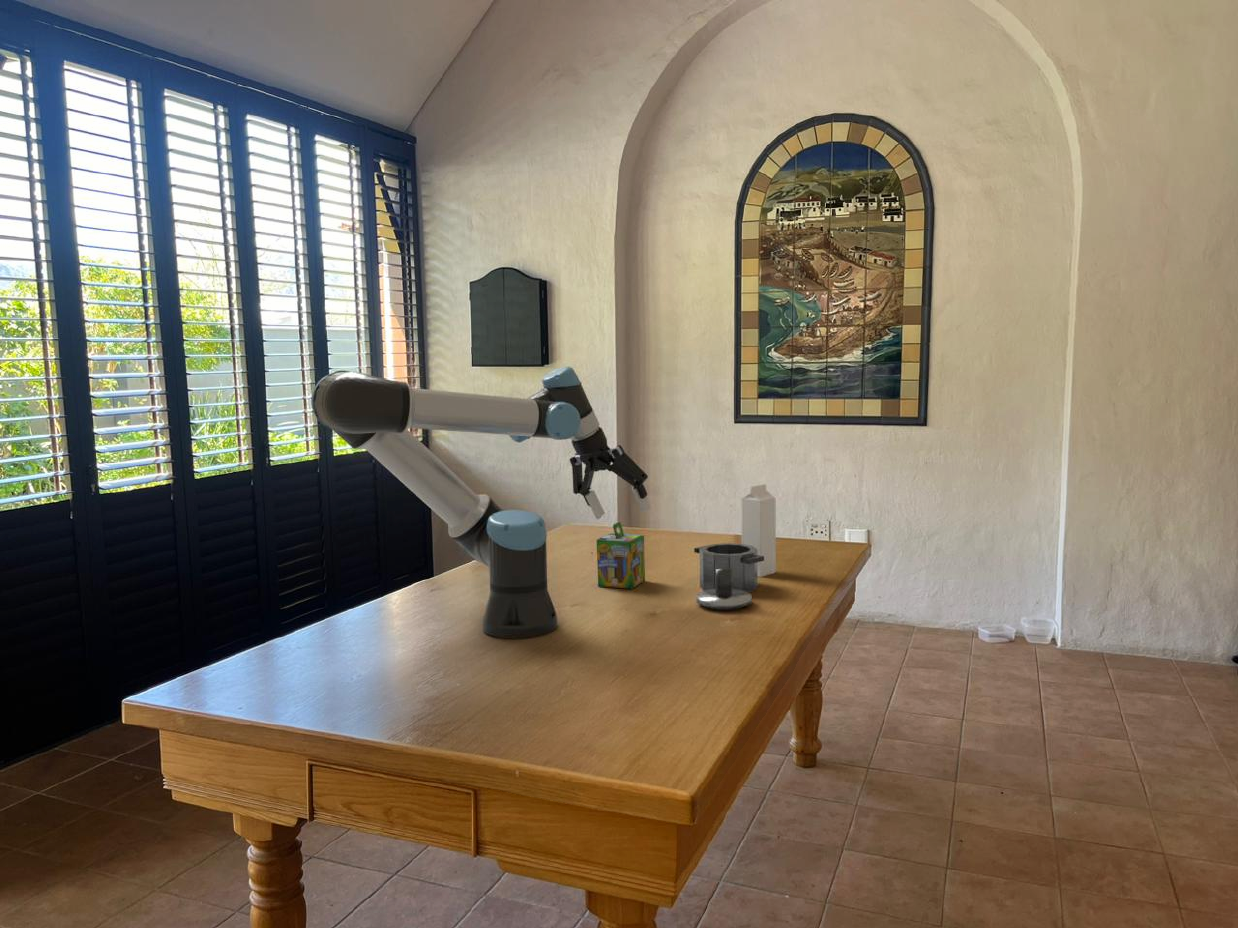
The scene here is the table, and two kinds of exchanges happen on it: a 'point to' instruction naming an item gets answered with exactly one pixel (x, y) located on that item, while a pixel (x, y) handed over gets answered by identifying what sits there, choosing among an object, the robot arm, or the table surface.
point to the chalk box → (620, 559)
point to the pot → (729, 565)
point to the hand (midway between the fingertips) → (623, 513)
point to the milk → (760, 527)
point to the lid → (723, 593)
